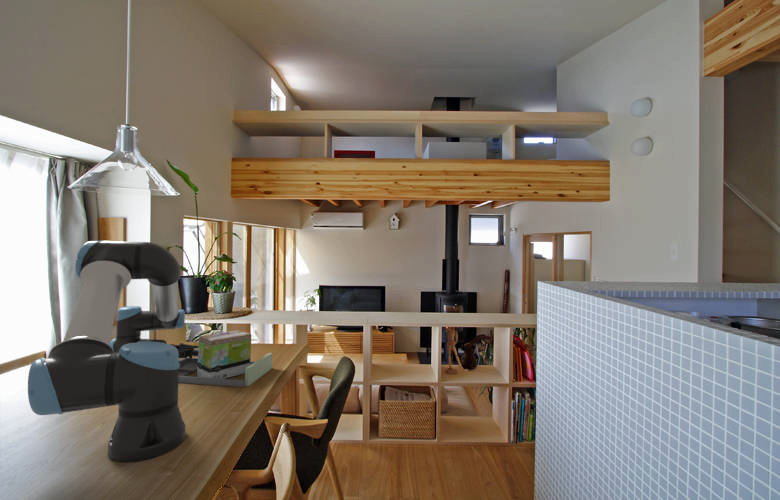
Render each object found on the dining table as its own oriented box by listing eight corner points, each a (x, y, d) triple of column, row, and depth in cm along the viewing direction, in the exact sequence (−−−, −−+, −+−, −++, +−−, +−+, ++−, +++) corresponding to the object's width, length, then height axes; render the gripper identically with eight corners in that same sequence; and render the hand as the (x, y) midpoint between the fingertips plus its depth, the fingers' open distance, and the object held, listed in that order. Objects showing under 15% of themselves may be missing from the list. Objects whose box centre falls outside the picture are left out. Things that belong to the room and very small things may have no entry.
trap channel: (243, 387, 119) (243, 381, 119) (146, 380, 122) (146, 374, 122) (269, 367, 139) (270, 362, 139) (186, 362, 142) (186, 357, 142)
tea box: (210, 384, 121) (211, 340, 121) (196, 377, 127) (197, 335, 127) (251, 372, 133) (252, 332, 133) (236, 366, 139) (237, 328, 139)
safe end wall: (248, 386, 120) (248, 368, 120) (244, 385, 120) (245, 368, 120) (271, 368, 137) (272, 353, 137) (268, 368, 138) (269, 352, 138)
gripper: (164, 354, 140) (220, 357, 137) (137, 365, 127) (199, 369, 125) (164, 335, 140) (221, 338, 137) (138, 344, 127) (200, 347, 125)
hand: (210, 353), depth 131 cm, fingers closed
